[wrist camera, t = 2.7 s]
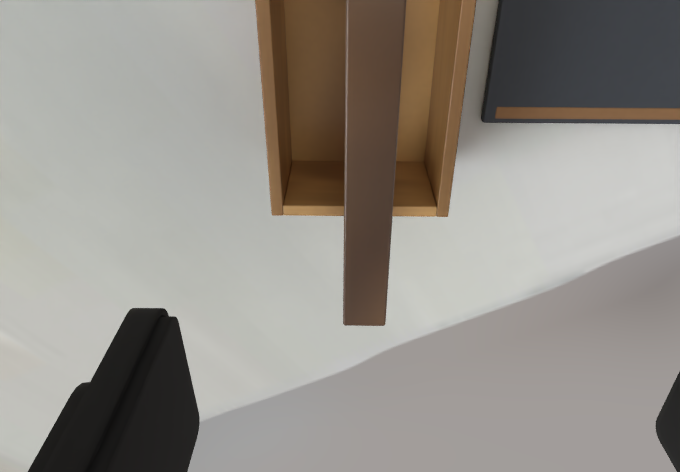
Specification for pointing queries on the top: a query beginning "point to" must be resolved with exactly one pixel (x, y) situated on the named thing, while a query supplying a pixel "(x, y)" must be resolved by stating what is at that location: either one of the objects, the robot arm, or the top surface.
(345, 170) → the basket
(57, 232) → the top surface
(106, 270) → the top surface
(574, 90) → the felt mat
